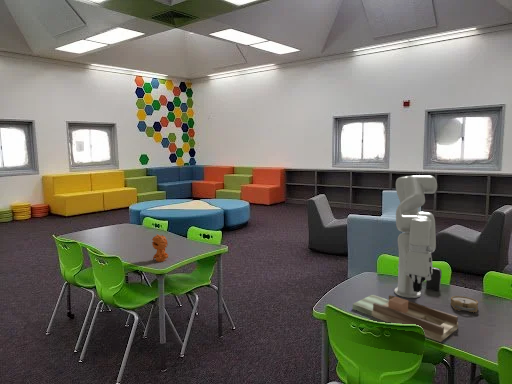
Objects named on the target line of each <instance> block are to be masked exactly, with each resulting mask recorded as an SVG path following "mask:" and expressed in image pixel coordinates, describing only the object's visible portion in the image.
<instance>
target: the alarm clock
mask: <svg viewBox="0 0 512 384" xmlns="http://www.w3.org/2000/svg"><path fill="white" fill-rule="evenodd" d="M450 305H451V307H452V308H453V309H454V310H455V311H457V310H459V311H458V312H460V311H468V312H469V313H470V312H473V313H472V314H475V313H477V312H478V310H479V301H478V300H476V299H475V298H472V297H468V296H461V295H454V296H451V297H450ZM474 312H475V313H474Z"/></svg>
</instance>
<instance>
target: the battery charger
mask: <svg viewBox="0 0 512 384" xmlns="http://www.w3.org/2000/svg"><path fill="white" fill-rule="evenodd" d="M432 267H433V272H432V275H431V280H425V282H426V283H425V288H426V289H429V290H432V291H433V290H434V291H438V292H439V291H441V282H442V281H441V280H442V276H443V275H442V269H441V268H438V267H434V266H432Z"/></svg>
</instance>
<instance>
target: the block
mask: <svg viewBox="0 0 512 384" xmlns="http://www.w3.org/2000/svg"><path fill="white" fill-rule="evenodd" d="M388 300H389V299H388ZM408 301H409V299H405V298H403V297H402V298H401V297H400V296H399V297H398V296H395V297H394V298H392V299H390V300H389V306H388V308H391V309H394V310H397V311H400V312H403V313H406V312H408Z"/></svg>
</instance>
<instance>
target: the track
mask: <svg viewBox="0 0 512 384" xmlns="http://www.w3.org/2000/svg"><path fill="white" fill-rule="evenodd" d="M394 297H396V296H394V295H391V294H390V295H388V299H387V298H385V297H381V296H378V295H375V294H370V295H368V296H366V297H364V298H362V299H360V300H358V301H355V302H353V303H352V310H354V311H356V310H357V311H356V312H360V313H362V314H366V315H368V316H370V317H372V316H373V317H372V318H375V319H378V320H381V321H384V322H386V323H388V322H392V323H402V324H416V325H419V326H421V327H422V328H423V330H424V332H425V336H424V337H425V338H428V339H432V340H434V341H436V342H440V343H442V342H443V341H444V340H445V339H447V338H448V337H449V336H450V335H452V334H453V333H454V332H455V331H457V330H458V329H459V321H458V319H459V317H458V316H457V315H456V314H451V313H448V312H445V311H442V310H438V309H436V308H433V307H429V306H426V305H423V304H420V303H416V302H413V301H410V300H408V312H406V313H403V312H400V311H397V310H394V309H391V308H388V306H389V300H390V299H392V298H394Z"/></svg>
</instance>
